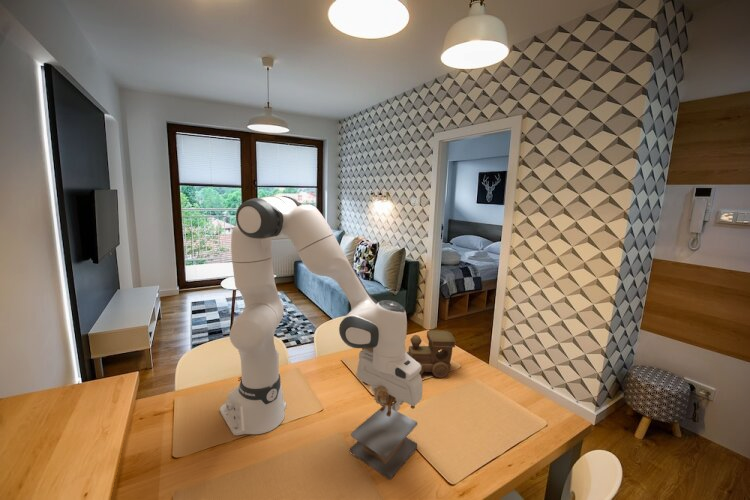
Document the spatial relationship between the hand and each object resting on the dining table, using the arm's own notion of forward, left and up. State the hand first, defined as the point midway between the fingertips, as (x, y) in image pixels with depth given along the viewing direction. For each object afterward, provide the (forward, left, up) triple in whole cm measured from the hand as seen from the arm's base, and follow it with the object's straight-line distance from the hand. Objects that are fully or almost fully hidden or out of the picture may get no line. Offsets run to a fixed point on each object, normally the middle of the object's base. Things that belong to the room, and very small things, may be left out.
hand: (386, 404), depth 91 cm
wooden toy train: (-11, +46, -15) cm, 50 cm away
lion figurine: (+2, +2, -3) cm, 4 cm away
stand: (0, 0, -15) cm, 15 cm away
